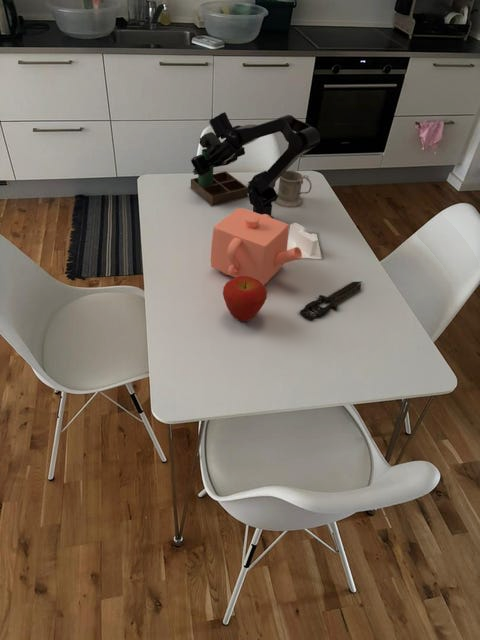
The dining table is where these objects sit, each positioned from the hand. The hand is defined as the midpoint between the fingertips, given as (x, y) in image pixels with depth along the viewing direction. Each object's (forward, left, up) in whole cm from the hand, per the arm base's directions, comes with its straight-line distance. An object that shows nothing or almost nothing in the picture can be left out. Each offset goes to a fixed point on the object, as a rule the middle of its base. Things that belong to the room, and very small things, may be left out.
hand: (203, 169), depth 183 cm
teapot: (-54, +13, -8) cm, 56 cm away
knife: (-75, +1, -8) cm, 75 cm away
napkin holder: (-48, -9, -8) cm, 50 cm away
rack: (-5, -4, -8) cm, 10 cm away
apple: (-68, +28, -8) cm, 74 cm away
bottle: (-1, 0, -7) cm, 7 cm away
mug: (-24, -24, -8) cm, 35 cm away
